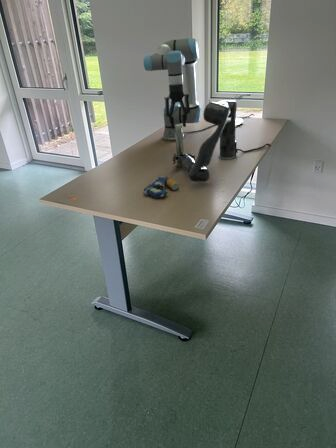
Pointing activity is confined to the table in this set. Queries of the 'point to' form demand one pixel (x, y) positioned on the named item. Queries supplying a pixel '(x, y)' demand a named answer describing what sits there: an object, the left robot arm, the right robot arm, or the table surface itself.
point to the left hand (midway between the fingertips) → (178, 127)
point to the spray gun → (160, 183)
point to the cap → (178, 126)
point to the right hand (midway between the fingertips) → (178, 154)
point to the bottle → (179, 144)
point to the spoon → (238, 121)
